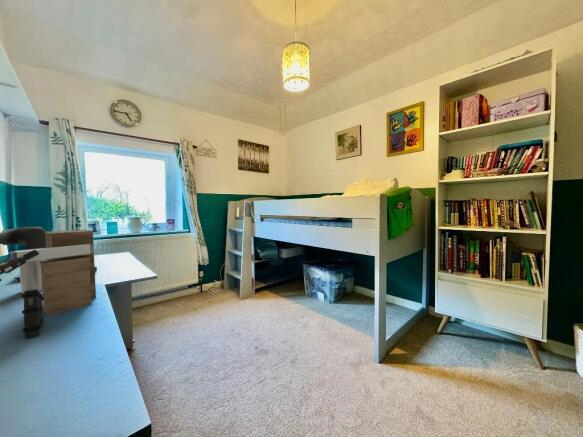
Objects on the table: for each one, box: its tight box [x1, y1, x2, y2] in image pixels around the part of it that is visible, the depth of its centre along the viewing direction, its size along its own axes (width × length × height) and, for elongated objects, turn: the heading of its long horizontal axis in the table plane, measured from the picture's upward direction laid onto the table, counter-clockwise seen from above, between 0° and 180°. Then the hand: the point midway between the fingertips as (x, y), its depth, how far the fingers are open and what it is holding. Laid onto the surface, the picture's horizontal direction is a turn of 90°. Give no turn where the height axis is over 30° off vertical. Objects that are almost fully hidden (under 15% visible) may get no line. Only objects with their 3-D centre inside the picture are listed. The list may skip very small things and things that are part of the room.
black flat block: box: [21, 289, 45, 340], centre depth 84 cm, size 4×13×15 cm, turn 40°
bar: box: [10, 244, 95, 263], centre depth 100 cm, size 4×24×4 cm, turn 145°
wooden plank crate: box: [40, 228, 97, 317], centre depth 108 cm, size 21×18×32 cm
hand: (35, 251), depth 95 cm, fingers closed on bar, 4 cm apart
